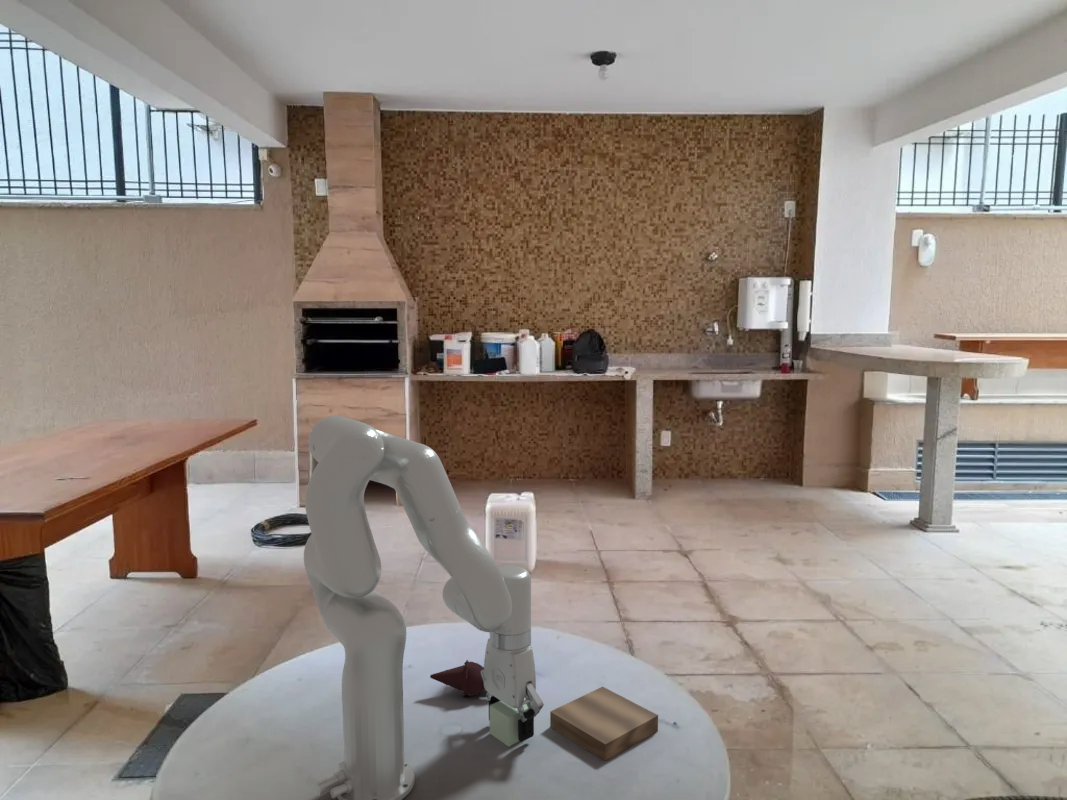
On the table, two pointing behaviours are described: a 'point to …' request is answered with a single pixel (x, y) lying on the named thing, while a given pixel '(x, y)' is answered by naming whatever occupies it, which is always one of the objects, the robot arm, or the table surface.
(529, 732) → the robot arm
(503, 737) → the sage cube
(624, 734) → the walnut base
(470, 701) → the table surface
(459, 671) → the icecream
